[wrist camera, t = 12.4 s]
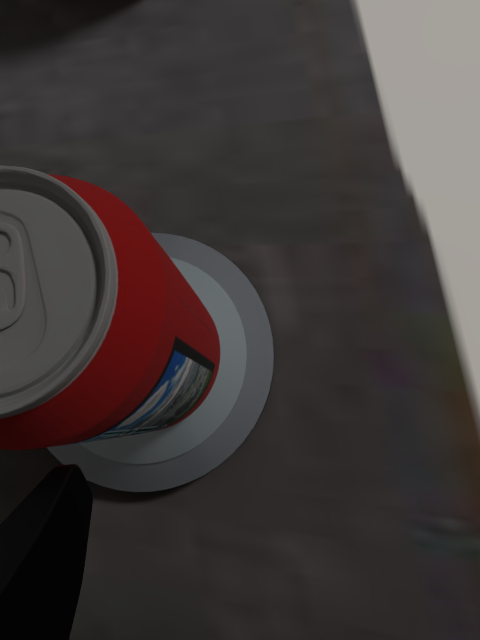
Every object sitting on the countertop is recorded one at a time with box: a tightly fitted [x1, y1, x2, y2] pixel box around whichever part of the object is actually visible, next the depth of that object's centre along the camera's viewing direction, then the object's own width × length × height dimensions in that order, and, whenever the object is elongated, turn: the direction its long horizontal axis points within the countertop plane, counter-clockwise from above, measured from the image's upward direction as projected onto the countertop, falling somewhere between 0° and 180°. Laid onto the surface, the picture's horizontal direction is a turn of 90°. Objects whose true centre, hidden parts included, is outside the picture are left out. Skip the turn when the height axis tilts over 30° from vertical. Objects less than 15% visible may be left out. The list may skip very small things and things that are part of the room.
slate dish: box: [46, 233, 274, 492], centre depth 22 cm, size 12×12×1 cm
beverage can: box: [0, 166, 220, 450], centre depth 15 cm, size 7×7×12 cm
